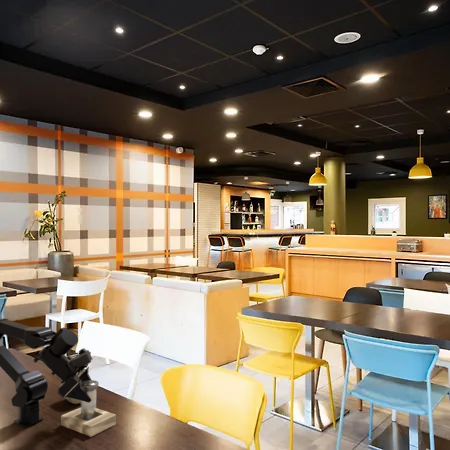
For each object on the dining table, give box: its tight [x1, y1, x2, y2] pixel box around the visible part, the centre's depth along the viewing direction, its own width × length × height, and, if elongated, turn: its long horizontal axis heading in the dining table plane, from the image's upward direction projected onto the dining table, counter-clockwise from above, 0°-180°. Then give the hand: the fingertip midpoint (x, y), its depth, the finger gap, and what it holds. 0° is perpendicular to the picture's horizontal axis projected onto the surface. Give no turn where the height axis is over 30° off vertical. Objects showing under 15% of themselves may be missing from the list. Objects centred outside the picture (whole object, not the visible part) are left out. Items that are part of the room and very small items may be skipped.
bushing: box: [80, 379, 99, 421], centre depth 134 cm, size 6×6×13 cm
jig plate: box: [60, 407, 117, 438], centre depth 134 cm, size 14×10×3 cm
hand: (93, 395), depth 134 cm, fingers open, 9 cm apart
